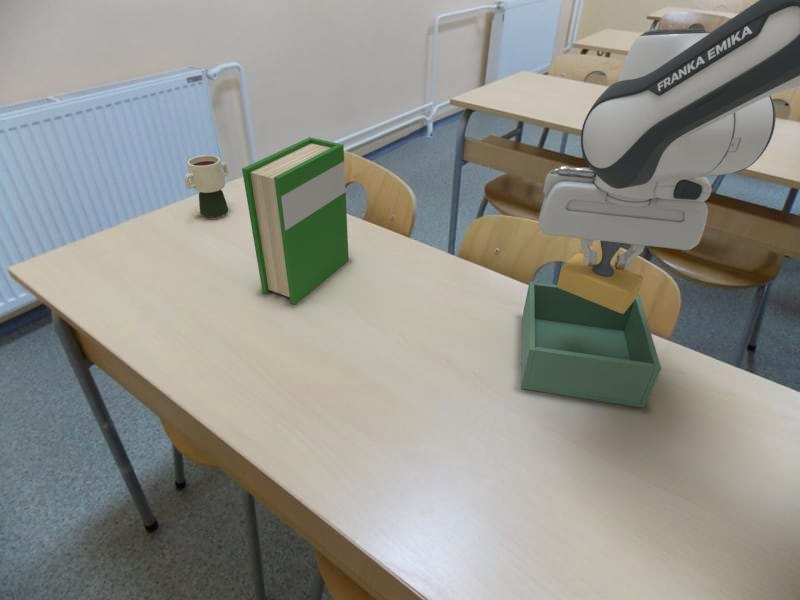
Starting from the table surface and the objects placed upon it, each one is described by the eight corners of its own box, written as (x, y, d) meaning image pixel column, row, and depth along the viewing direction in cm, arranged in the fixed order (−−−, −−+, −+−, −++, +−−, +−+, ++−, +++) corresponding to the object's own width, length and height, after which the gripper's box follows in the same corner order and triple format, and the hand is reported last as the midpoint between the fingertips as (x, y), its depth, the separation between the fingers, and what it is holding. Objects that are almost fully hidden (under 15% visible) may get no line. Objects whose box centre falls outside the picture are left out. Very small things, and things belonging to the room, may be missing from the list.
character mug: (224, 202, 126) (214, 150, 119) (243, 210, 123) (234, 157, 115) (185, 217, 119) (172, 163, 112) (204, 227, 116) (191, 171, 108)
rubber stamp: (637, 297, 75) (663, 222, 68) (622, 315, 71) (648, 238, 64) (572, 272, 80) (591, 200, 73) (555, 288, 76) (573, 214, 69)
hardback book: (294, 304, 93) (278, 178, 79) (262, 292, 96) (242, 168, 82) (348, 260, 106) (343, 144, 92) (319, 251, 108) (309, 137, 94)
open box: (626, 332, 89) (639, 295, 84) (644, 408, 75) (661, 368, 70) (522, 318, 91) (529, 281, 87) (520, 388, 77) (529, 349, 73)
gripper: (548, 173, 63) (529, 268, 72) (727, 190, 60) (686, 287, 69) (546, 155, 69) (529, 246, 77) (711, 170, 65) (675, 263, 74)
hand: (604, 266), depth 73 cm, fingers closed on rubber stamp, 3 cm apart
